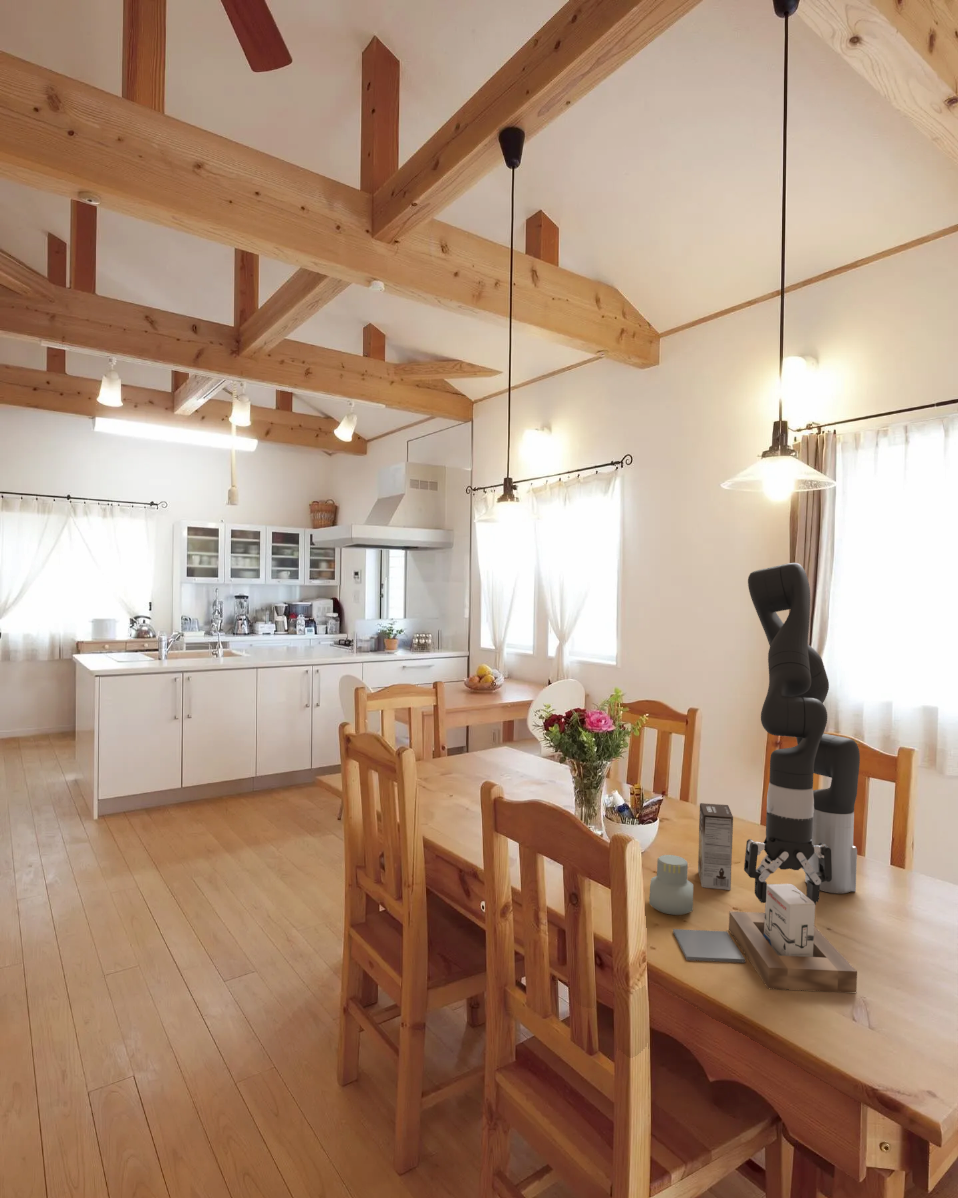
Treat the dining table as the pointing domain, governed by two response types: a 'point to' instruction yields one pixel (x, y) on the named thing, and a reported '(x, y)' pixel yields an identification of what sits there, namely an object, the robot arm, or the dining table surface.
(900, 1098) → the dining table surface
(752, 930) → the pocket
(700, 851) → the coffee box
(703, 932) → the coaster
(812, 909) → the ink box
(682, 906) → the air freshener
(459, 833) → the dining table surface
